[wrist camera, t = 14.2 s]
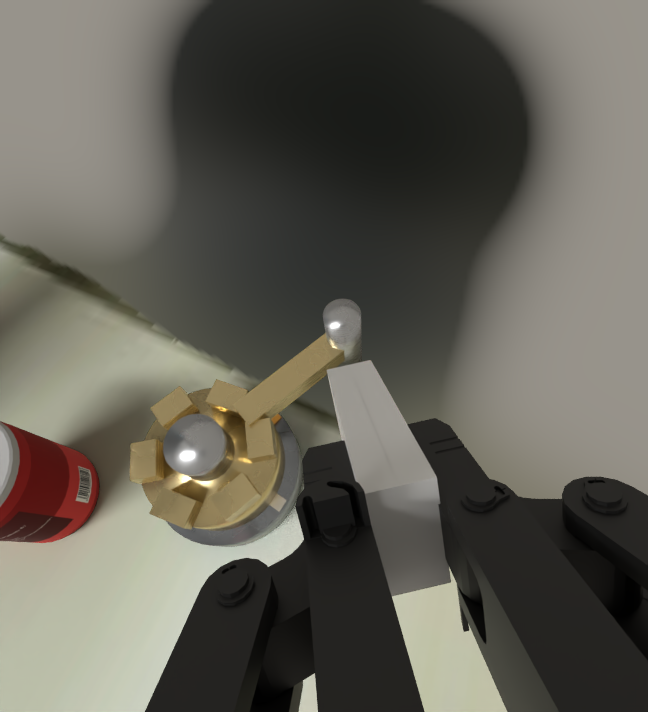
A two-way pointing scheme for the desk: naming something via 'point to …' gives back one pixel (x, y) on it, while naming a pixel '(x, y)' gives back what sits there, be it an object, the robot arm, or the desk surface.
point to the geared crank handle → (233, 436)
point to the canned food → (42, 487)
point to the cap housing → (273, 512)
